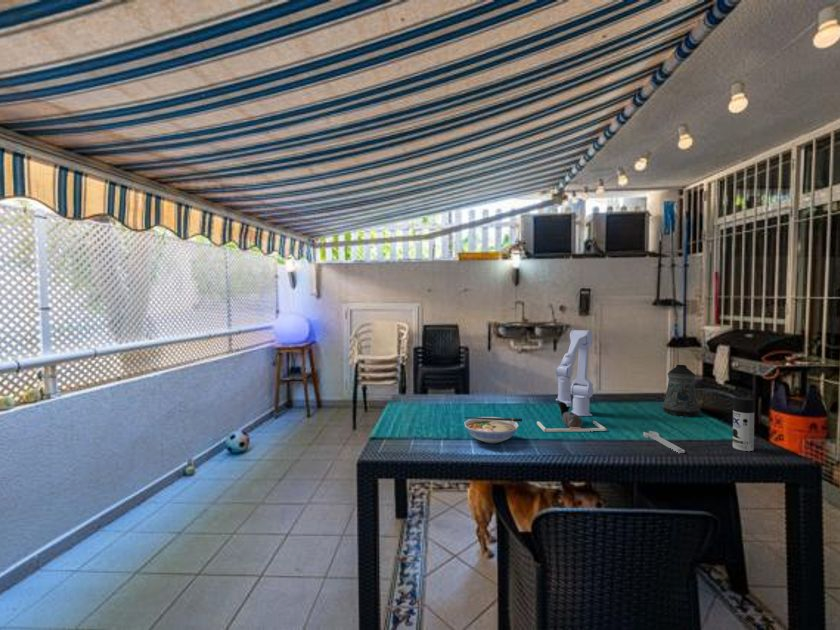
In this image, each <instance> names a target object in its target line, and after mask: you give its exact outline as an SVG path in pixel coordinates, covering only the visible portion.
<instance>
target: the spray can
mask: <svg viewBox="0 0 840 630" xmlns="http://www.w3.org/2000/svg"><path fill="white" fill-rule="evenodd" d="M732 399H733V402H732V448H733V449H735V450H738V451H739V452H740V451H742V452H745V451H748V452H747V453H749V452H750V451H752V452H754V449H755V399H754V398H750V397H746V396H745V397H744V396H734V397H733V398H732Z"/></svg>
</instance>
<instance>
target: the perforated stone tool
mask: <svg viewBox="0 0 840 630" xmlns="http://www.w3.org/2000/svg"><path fill="white" fill-rule="evenodd" d="M561 420H562V422H563V424H564V425H565V426H566V427H567V428H569V427H581V428H582V426H583V421H582V418H581V416H578V415H576V414H574V413H572V412H571V411H568V412H565V413H563V415H561Z"/></svg>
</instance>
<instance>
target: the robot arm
mask: <svg viewBox="0 0 840 630" xmlns="http://www.w3.org/2000/svg"><path fill="white" fill-rule="evenodd" d="M569 341H570V344H569V348H568V351H567V352H566V353H564V355H563V358H562V359H561V362H560V364H559V365H557V367H556V369H555V375H556V380H557V381H558V382H557V384H558V385H557V392H558V393H557V394H558V395H557V398H555V401H556V402H557V401H558V402H557V406H558V407H559V411H560V414H561V416H562V415H563V413H565V412H569V410H570V408H571V407H572V410H570V412H571V413H574V414H576V415H578V416H579V417H593V414H592V413H590V398H591V397H592V396H593V393H594V387H593V382H592V381H591V380H589V379H588V373H589V371H588V370H589V352H590V348H591V347H592V346H593V332H592V331H591V330H589V329H587V330H583V329H581V330H579V329H571V331H570V332H569ZM577 352H578V359H577V357H576V354H577ZM576 361H577V374H576V378H575V379H574V380H572V382H571V378H572V376H573V374H574V365H575V362H576ZM571 395H572V396H573V398H571Z"/></svg>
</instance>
